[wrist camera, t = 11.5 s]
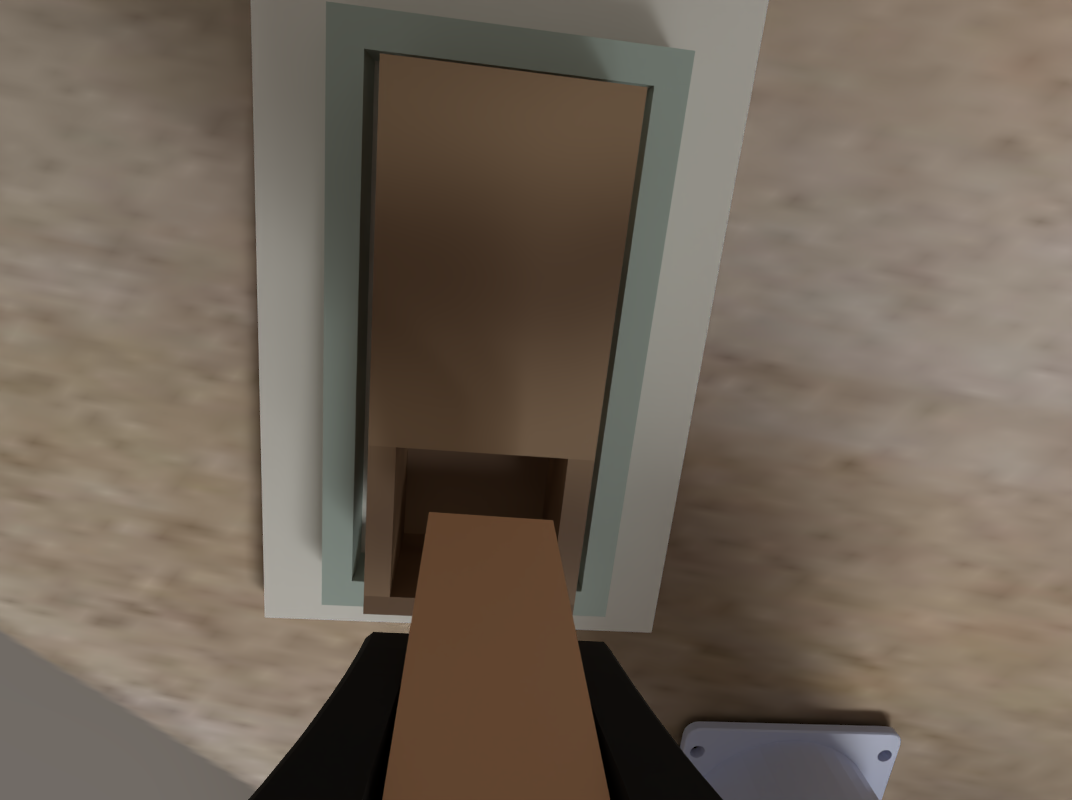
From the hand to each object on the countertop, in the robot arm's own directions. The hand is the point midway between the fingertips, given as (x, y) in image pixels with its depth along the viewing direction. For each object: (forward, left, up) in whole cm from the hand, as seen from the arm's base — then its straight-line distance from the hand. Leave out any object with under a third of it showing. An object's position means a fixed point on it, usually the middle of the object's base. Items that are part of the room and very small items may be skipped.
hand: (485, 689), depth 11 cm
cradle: (+3, 0, -10) cm, 10 cm away
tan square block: (0, 0, -3) cm, 3 cm away
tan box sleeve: (+4, 0, -9) cm, 10 cm away
